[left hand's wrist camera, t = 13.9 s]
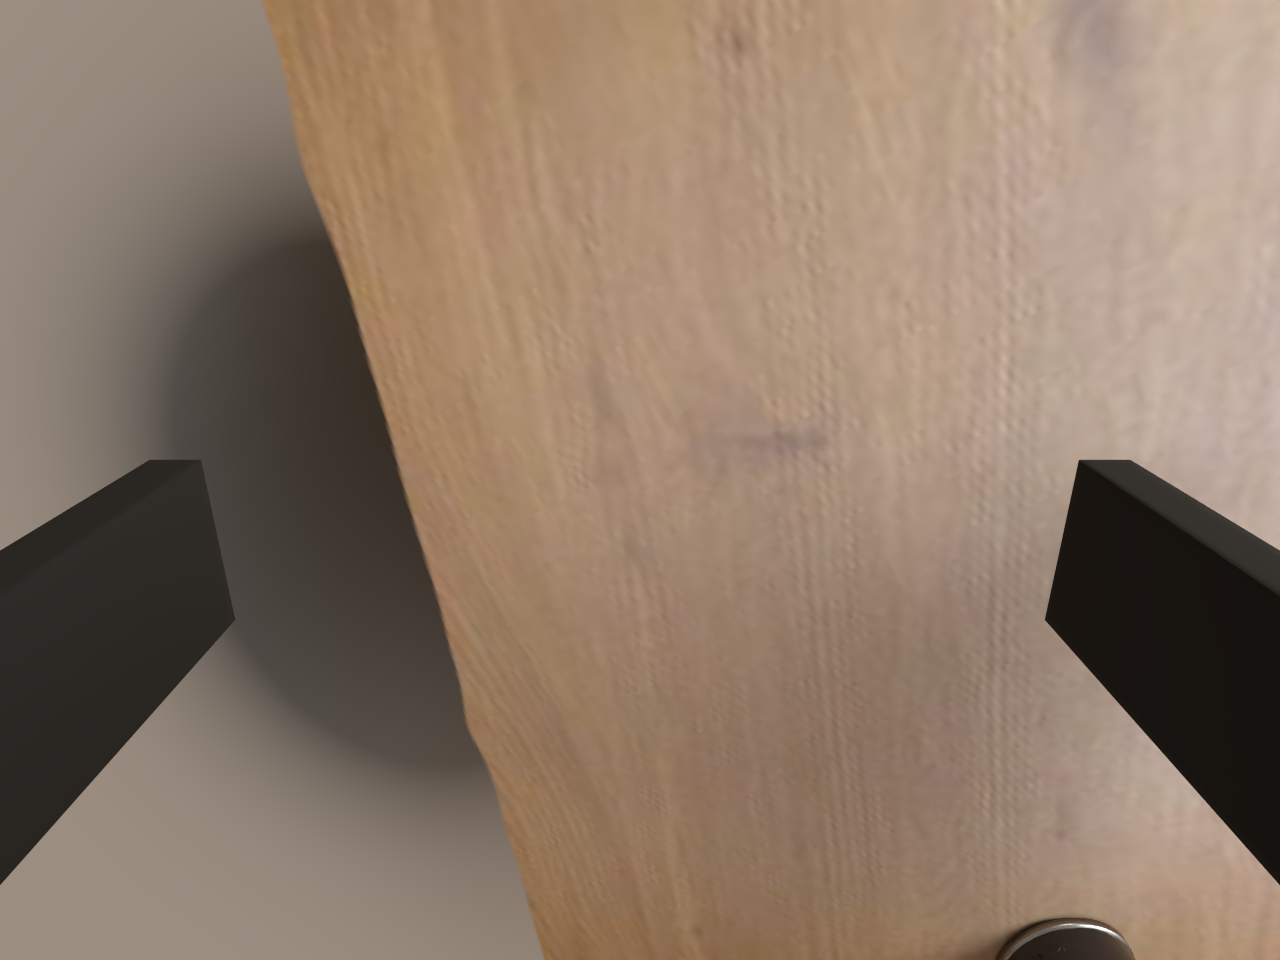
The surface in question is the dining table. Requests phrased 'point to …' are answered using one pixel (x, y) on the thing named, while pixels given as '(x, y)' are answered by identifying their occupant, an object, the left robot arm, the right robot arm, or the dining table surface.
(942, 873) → the dining table surface
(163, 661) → the left robot arm
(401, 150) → the dining table surface
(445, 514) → the dining table surface
